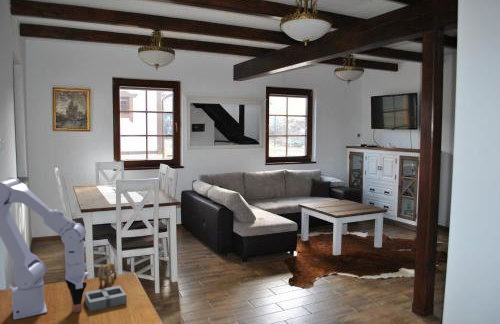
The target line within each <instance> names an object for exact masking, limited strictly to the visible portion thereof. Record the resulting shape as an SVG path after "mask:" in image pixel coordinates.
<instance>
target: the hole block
mask: <svg viewBox="0 0 500 324" xmlns="http://www.w3.org/2000/svg"><path fill="white" fill-rule="evenodd" d="M83 295H84V302H85V304H86V306H87V309H88V311H89V312H92V311H98V310H99V311H100V310H102V309H103V310H104V309H107V308H111V307H116V306H120V305H125V304H127V301H128V300H127V294H126V292H125V291H124V289H123V288H122V286H121V285H114V286H111V287H110V286H108V287H105V288H101V289H95V290H90V291H84V292H83Z"/></svg>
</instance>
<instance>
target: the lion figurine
mask: <svg viewBox="0 0 500 324" xmlns="http://www.w3.org/2000/svg"><path fill="white" fill-rule="evenodd" d="M113 274H114V275H113ZM96 275H97V278H98V281H99V285H98V288H102V287H103V281H105V287H106V288H109V287H110V275H113V278H114V279H116V278H117V271H116V267H115V264H114V263H113V262H109V263H106V264H102V265H100V266H99V268H98V269H97V274H96Z"/></svg>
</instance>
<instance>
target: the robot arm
mask: <svg viewBox="0 0 500 324" xmlns="http://www.w3.org/2000/svg"><path fill="white" fill-rule="evenodd" d="M13 203H14V204H15V203H17V204H19V203H20V204H23V205H24V206H26V207H27V208H29V209H30V210H31V211H32V212H34V213H36V214H37V215H38V216H40V217H42V219H43V224H44V225H46V226H47V227H48V228H50V229H51V230H52V231H53V232H54V233H56V234H57V235H59V237H60V238H61V242H62V244H63V245H64V255H65V256H64V260H65V261H64V262H65V276H64V277H65V279H64V281H65V283H66V287H67V288H68V290H69V293H70V296H71V295H72V300H73V303H74V305H77V304H82V300H83V295H84V292H85V289H86V287H87V282H86V281H85V278H86V277H88V276H89V275H90V274H89V271H86V268H85V262H86V261H85V243H84V242H85V239H84V238H85V237H86V235H87V234H86V233H87V231H86V228H85V226H83V224H82V223H79V222H76V221H75V220H72V219H71V218H69V217H68V216H66V215H65V211H63V210H59V209H51V208H50V207H49V206H48V205H47V204H46V203H45V202H43V201H42V200H41V199H40V198H39V197H38V196H37V195H36V194H35V193H33V192H32V191H31V190H30V189H29V187H28V186H27V185H26V184H25V183H24V182H22V181H21V180H20V179H18V178H16V177H8V178H6V179H3V180H0V239H1V241H2V242H3V244H4V247H5V248H6V251H7V252H8V254H9V256H10V258H11V259H12V262H13V263H12V268H11V272H12V274H13V280H14V281H13V282H14V284H15V287H12V288H11V301H12V302H11V303H12V304H11V308H10V309H11V312H12V315H13V317H12V318H13V320H19V319H23V318H29V317H33V316H36V315H42V314H46V313H48V309H47V305H46V302H45V285H44V284H45V283H44V276H46V273H47V266H46V264H45V263H44V262H43V261H41V259H40V258H39V256H38V255H36V254H34V253H32V252H31V250H30V248H29V246H28V244H27V242H26V240H25V239H24V237H23V234H22V233H21V231H20V229H19V227H18V224H17V223H16V221H15V220H14V217H13V215H12V214H11V211H10V208H11V206H12V204H13ZM84 281H85V282H84Z"/></svg>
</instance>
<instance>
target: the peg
mask: <svg viewBox="0 0 500 324" xmlns="http://www.w3.org/2000/svg"><path fill="white" fill-rule="evenodd" d="M70 297H71V298H70V299H71V300H70V301H71V312H72V313H79V312H81V311H82V309H83V307H82V303H81V304H77V305H74V303H73V300H72V295H71V294H70Z"/></svg>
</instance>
